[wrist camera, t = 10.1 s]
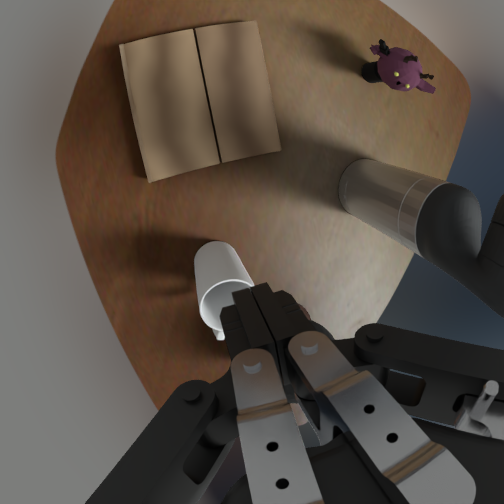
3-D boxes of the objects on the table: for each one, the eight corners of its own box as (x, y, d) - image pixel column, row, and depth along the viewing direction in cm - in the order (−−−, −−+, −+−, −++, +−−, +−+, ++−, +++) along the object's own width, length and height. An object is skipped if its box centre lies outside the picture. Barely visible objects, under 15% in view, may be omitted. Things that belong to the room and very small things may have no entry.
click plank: (191, 33, 30) (193, 28, 28) (217, 162, 38) (220, 163, 36) (121, 49, 28) (119, 44, 27) (149, 180, 36) (148, 183, 34)
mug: (196, 235, 41) (205, 275, 30) (243, 242, 43) (267, 282, 32) (185, 298, 45) (191, 351, 34) (229, 302, 47) (246, 354, 36)
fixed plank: (252, 24, 31) (256, 20, 30) (276, 149, 39) (281, 150, 37) (194, 32, 30) (195, 28, 29) (220, 161, 38) (222, 162, 36)
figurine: (342, 50, 35) (393, 34, 24) (382, 47, 36) (436, 35, 25) (356, 101, 39) (410, 99, 28) (395, 93, 39) (450, 93, 29)
